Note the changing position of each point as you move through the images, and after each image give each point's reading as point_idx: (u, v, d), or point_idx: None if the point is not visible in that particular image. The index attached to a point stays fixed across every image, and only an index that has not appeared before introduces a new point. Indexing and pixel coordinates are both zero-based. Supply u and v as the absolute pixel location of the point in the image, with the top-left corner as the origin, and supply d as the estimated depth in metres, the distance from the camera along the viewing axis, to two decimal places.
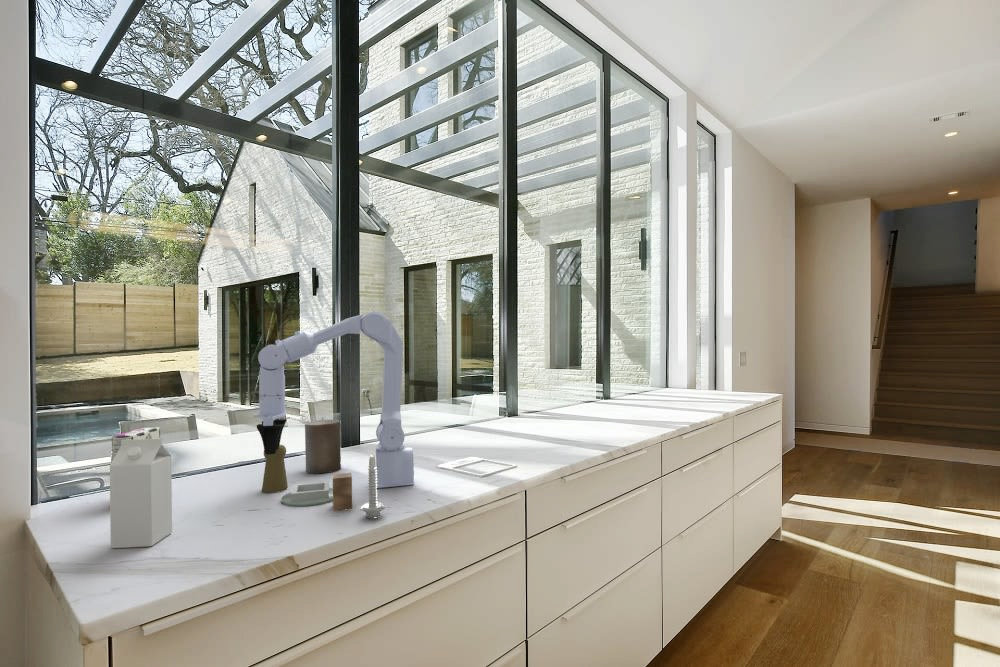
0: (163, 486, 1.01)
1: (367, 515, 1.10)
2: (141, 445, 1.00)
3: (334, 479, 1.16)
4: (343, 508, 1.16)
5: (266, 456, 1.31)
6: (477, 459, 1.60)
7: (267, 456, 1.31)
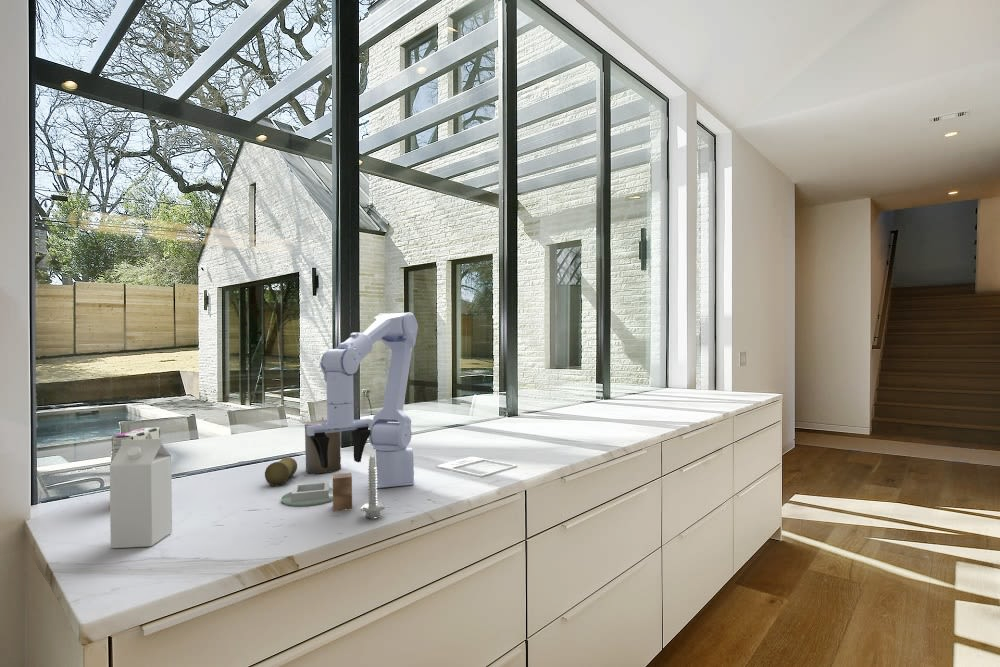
0: (163, 486, 1.01)
1: (367, 515, 1.10)
2: (141, 445, 1.00)
3: (334, 479, 1.16)
4: (343, 508, 1.16)
5: (279, 461, 1.45)
6: (477, 459, 1.60)
7: (280, 460, 1.45)
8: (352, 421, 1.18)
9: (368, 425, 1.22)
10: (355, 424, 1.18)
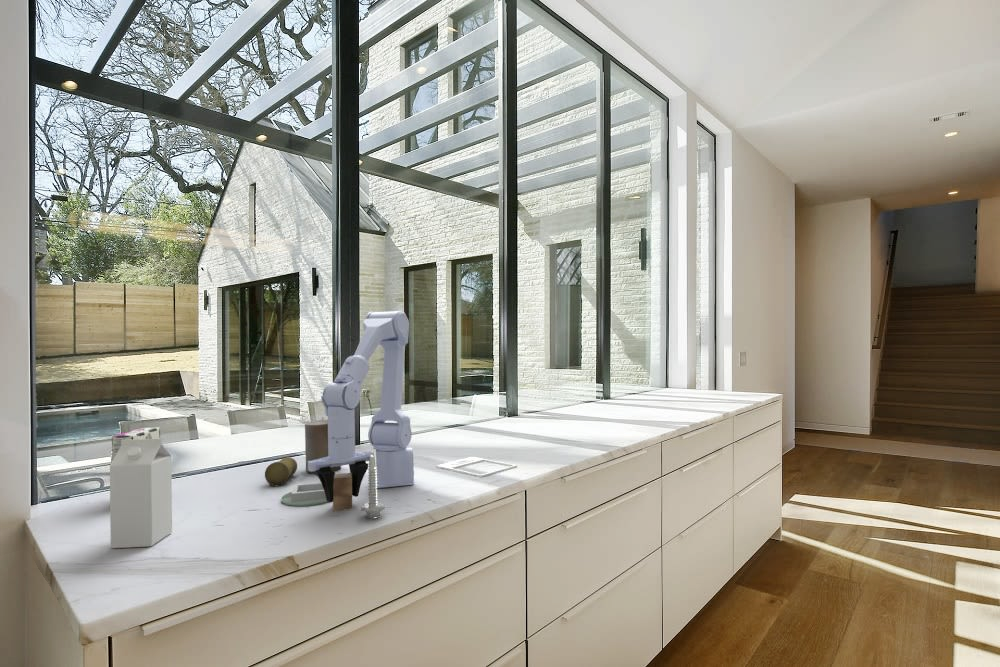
0: (163, 486, 1.01)
1: (367, 515, 1.10)
2: (141, 445, 1.00)
3: (334, 479, 1.16)
4: (343, 508, 1.16)
5: (279, 461, 1.45)
6: (477, 459, 1.60)
7: (280, 460, 1.45)
8: (353, 455, 1.18)
9: (369, 458, 1.22)
10: (356, 458, 1.18)
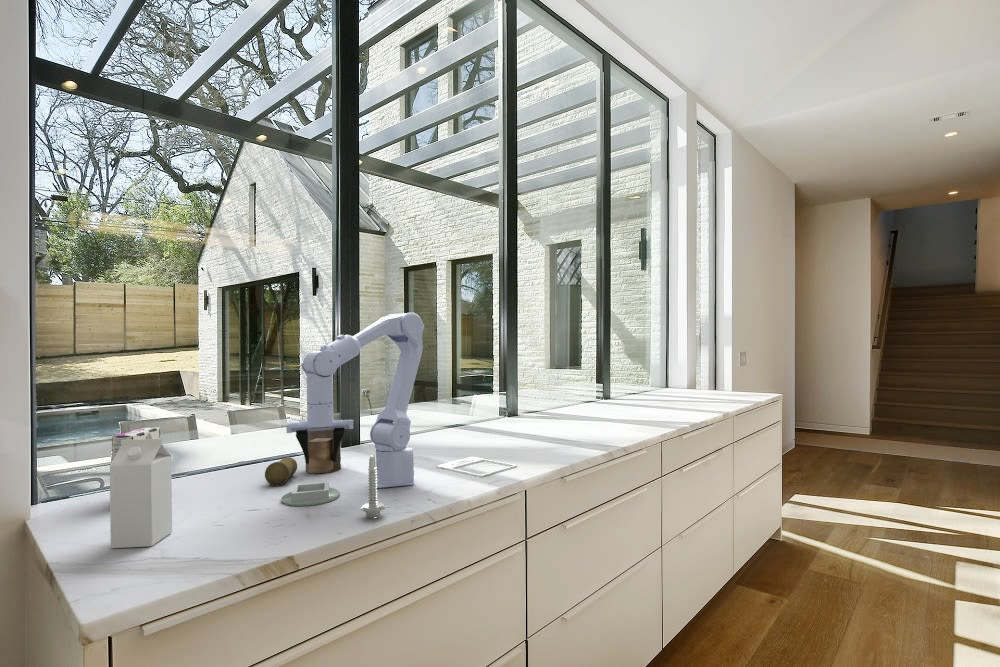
0: (163, 486, 1.01)
1: (367, 515, 1.10)
2: (141, 445, 1.00)
3: (310, 442, 1.21)
4: (318, 471, 1.21)
5: (279, 461, 1.45)
6: (477, 459, 1.60)
7: (281, 460, 1.45)
8: (328, 421, 1.22)
9: (348, 426, 1.24)
10: (331, 424, 1.22)
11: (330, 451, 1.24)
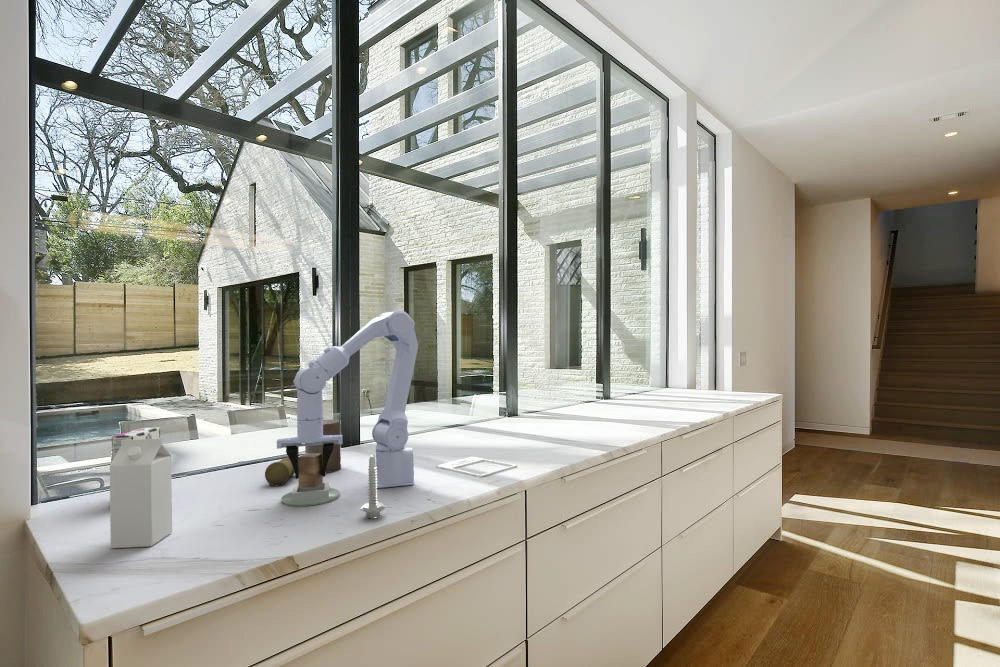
0: (163, 486, 1.01)
1: (367, 515, 1.10)
2: (141, 445, 1.00)
3: (299, 458, 1.24)
4: (307, 486, 1.24)
5: (280, 461, 1.45)
6: (477, 459, 1.60)
7: (281, 460, 1.45)
8: (318, 437, 1.24)
9: (338, 441, 1.27)
10: (320, 440, 1.24)
11: (320, 466, 1.26)
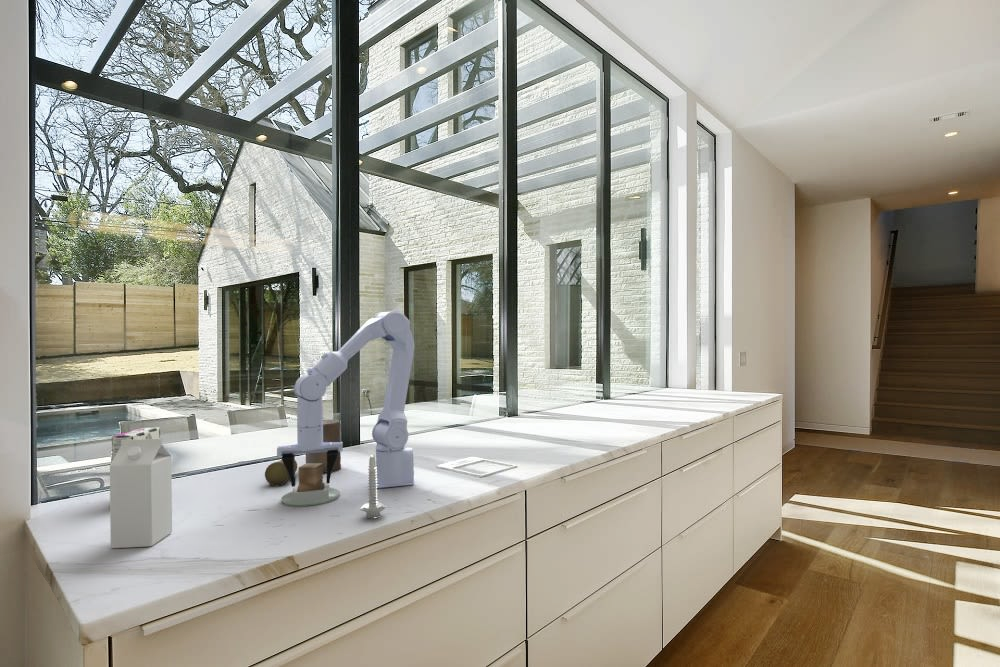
0: (163, 486, 1.01)
1: (367, 515, 1.10)
2: (141, 445, 1.00)
3: (300, 468, 1.24)
4: None
5: (280, 461, 1.45)
6: (477, 459, 1.60)
7: (281, 460, 1.45)
8: (318, 444, 1.24)
9: (338, 448, 1.27)
10: (321, 447, 1.24)
11: (320, 476, 1.26)
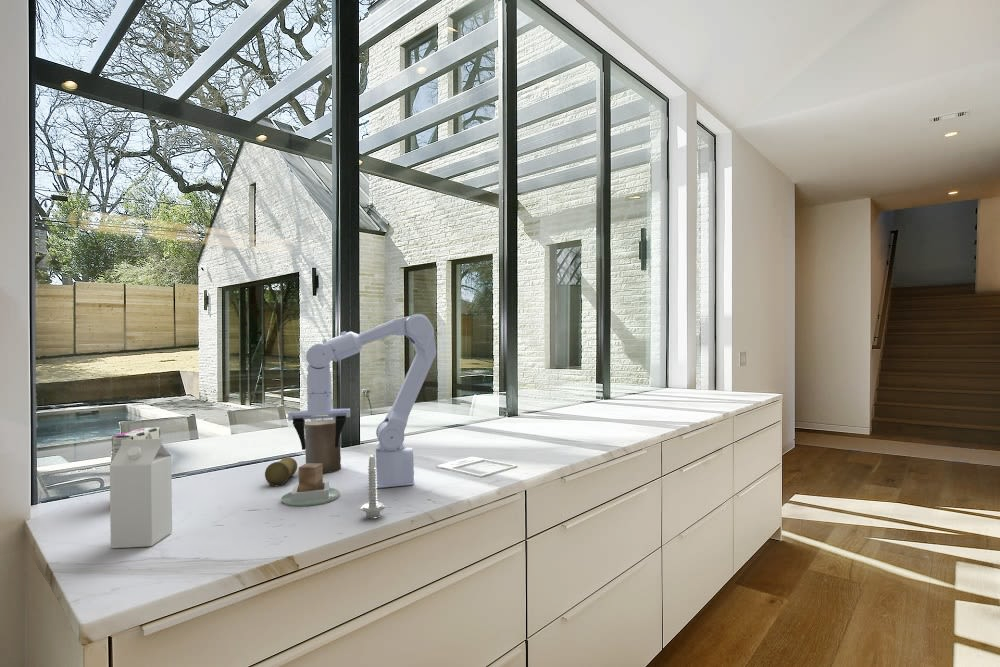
0: (163, 486, 1.01)
1: (367, 515, 1.10)
2: (141, 445, 1.00)
3: (300, 468, 1.24)
4: None
5: (280, 461, 1.45)
6: (477, 459, 1.60)
7: (281, 460, 1.45)
8: (327, 410, 1.31)
9: (346, 414, 1.33)
10: (329, 412, 1.31)
11: (320, 476, 1.26)
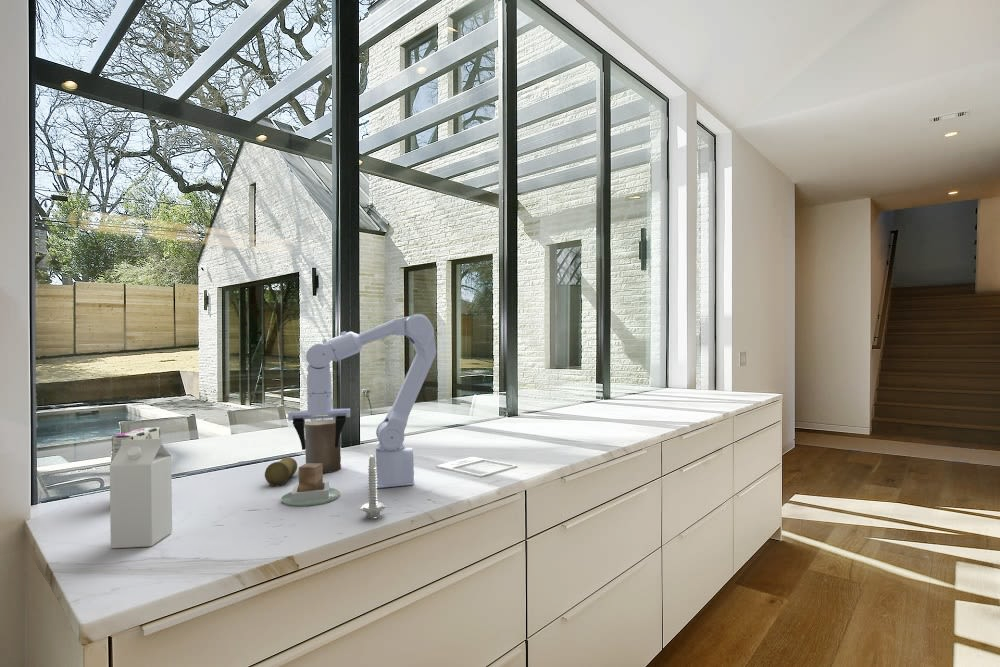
0: (163, 486, 1.01)
1: (367, 515, 1.10)
2: (141, 445, 1.00)
3: (300, 468, 1.24)
4: None
5: (280, 461, 1.45)
6: (477, 459, 1.60)
7: (281, 460, 1.45)
8: (327, 410, 1.31)
9: (346, 414, 1.33)
10: (329, 412, 1.31)
11: (320, 476, 1.26)
